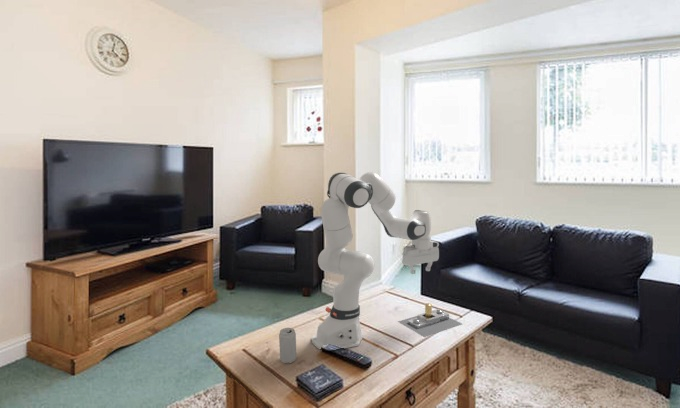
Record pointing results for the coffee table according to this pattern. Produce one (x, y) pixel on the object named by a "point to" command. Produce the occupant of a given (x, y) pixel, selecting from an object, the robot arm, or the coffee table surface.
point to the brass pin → (428, 310)
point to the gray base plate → (431, 326)
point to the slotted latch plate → (423, 321)
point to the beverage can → (287, 345)
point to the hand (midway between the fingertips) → (420, 272)
